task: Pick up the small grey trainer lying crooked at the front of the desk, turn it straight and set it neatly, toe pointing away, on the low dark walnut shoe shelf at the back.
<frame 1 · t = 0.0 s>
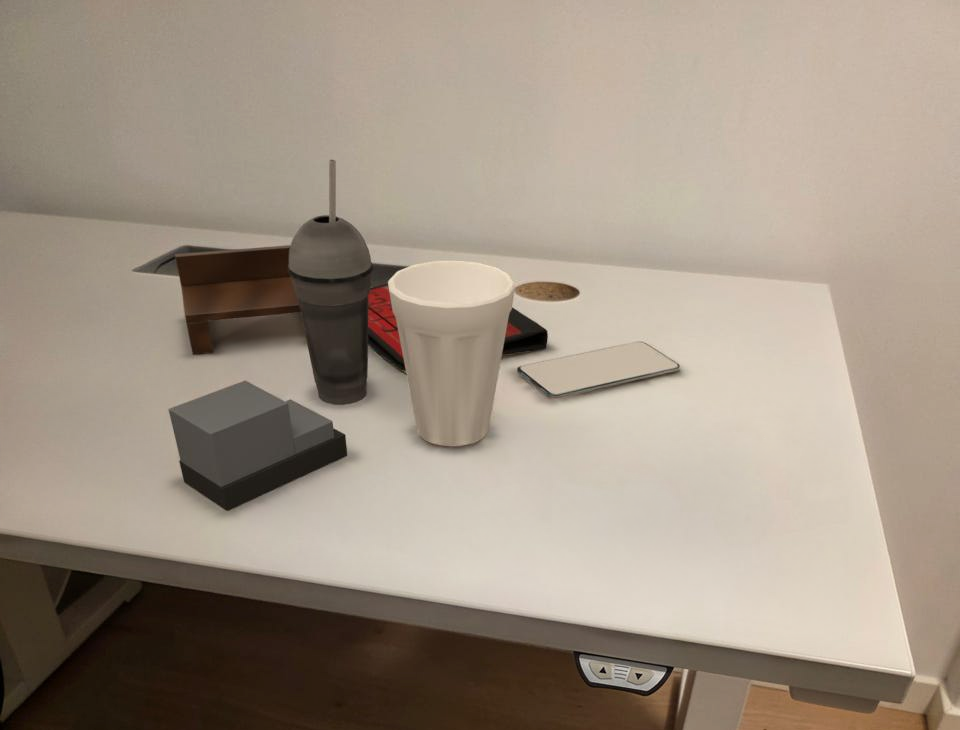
trainer: (247, 477, 73), on the table
smartphone: (598, 373, 89), on the table
binder: (432, 329, 97), on the table
beverage cup: (342, 395, 85), on the table
shelf: (258, 330, 95), on the table
cup: (452, 434, 79), on the table
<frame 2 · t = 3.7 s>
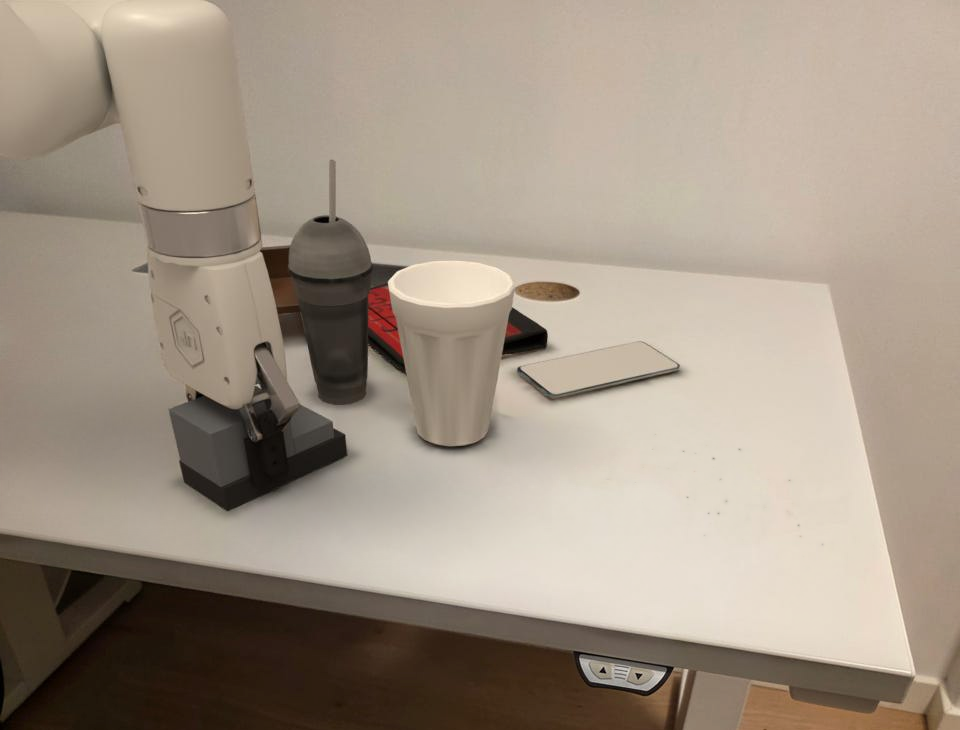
hand: (244, 461, 72), 1 cm above the table, tool pointing down, fingers closed on trainer, 6 cm apart
trainer: (247, 477, 73), on the table, touching gripper
everything else where it was.
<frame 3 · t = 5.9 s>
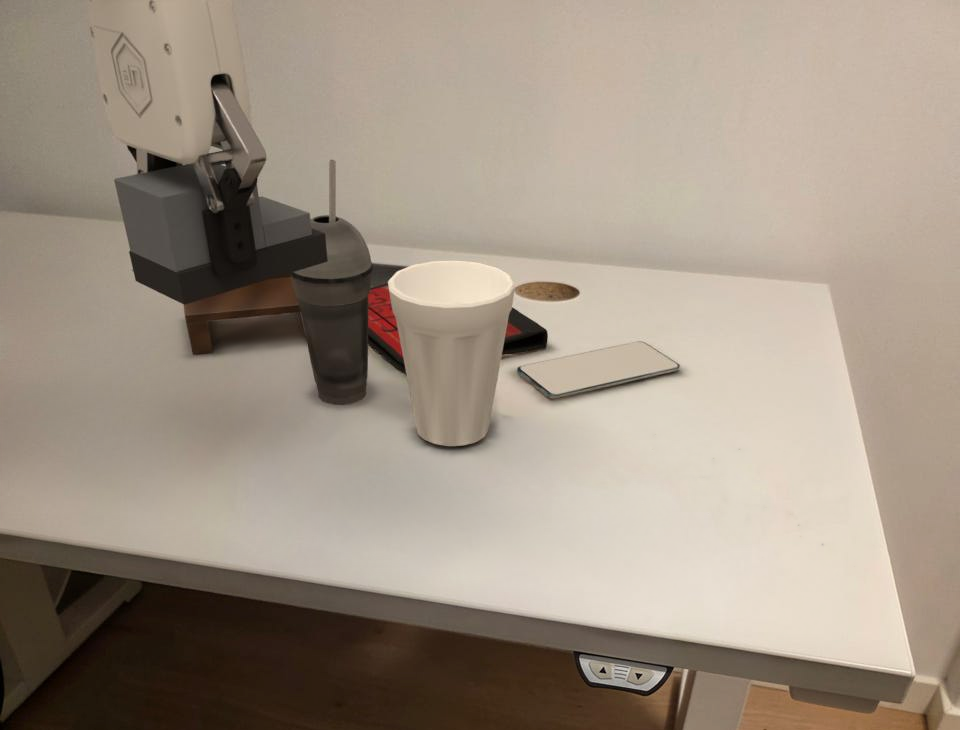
hand: (206, 255, 61), 17 cm above the table, tool pointing down, fingers closed on trainer, 6 cm apart
trainer: (210, 278, 62), point 16 cm above the table, touching gripper
everything else where it was.
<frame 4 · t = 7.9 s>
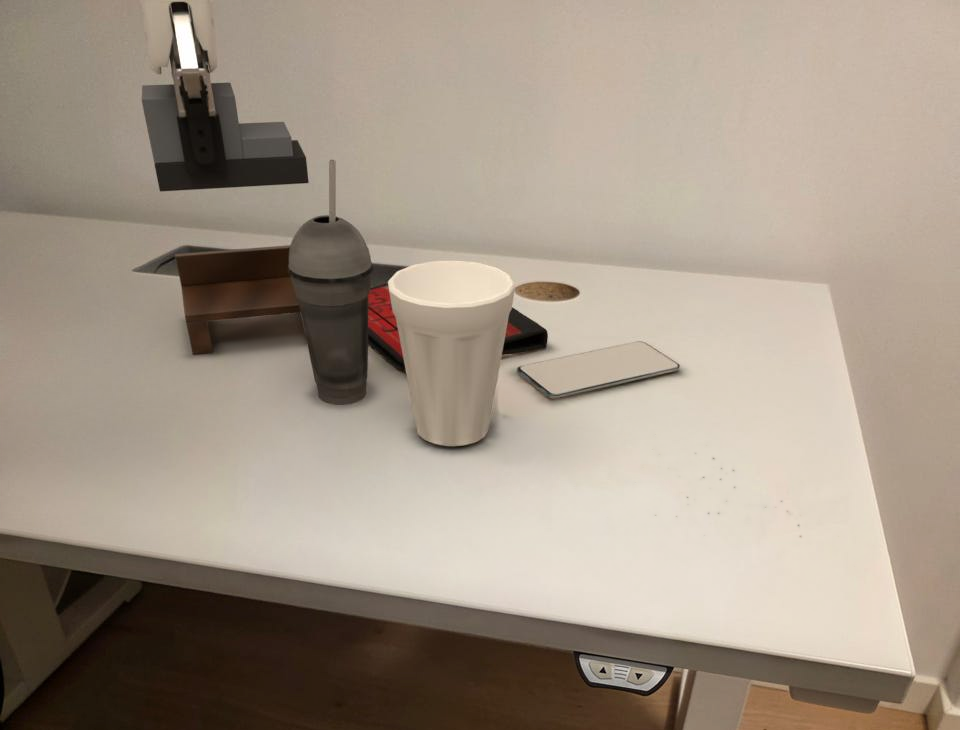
hand: (205, 159, 75), 19 cm above the table, tool pointing down, fingers closed on trainer, 6 cm apart
trainer: (209, 179, 76), point 17 cm above the table, touching gripper
everything else where it was.
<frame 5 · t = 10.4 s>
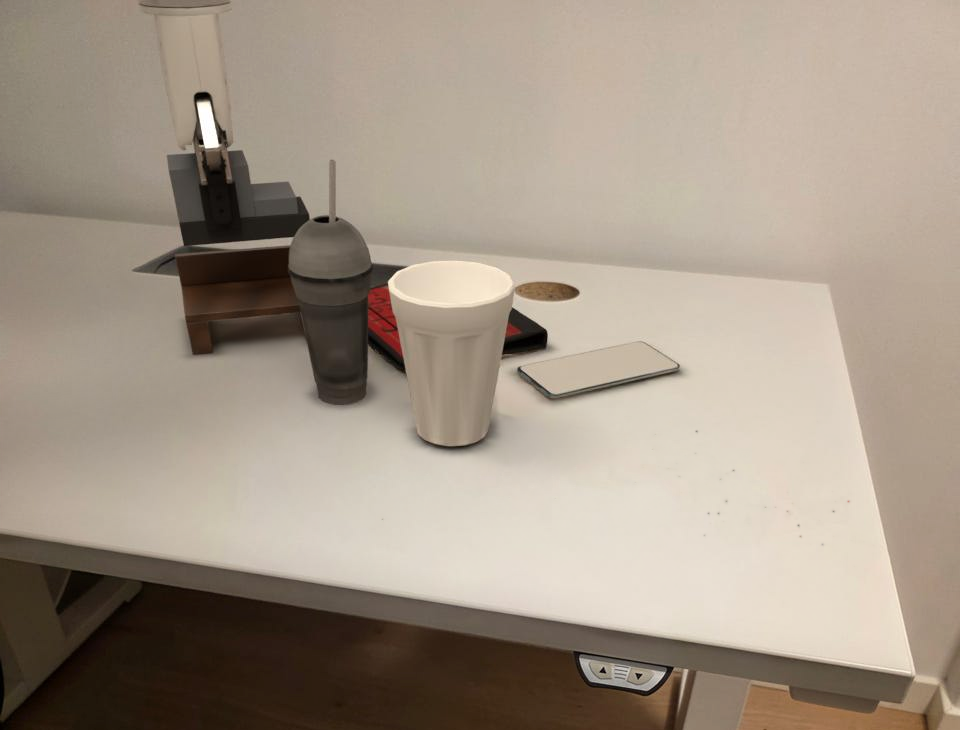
hand: (221, 216, 87), 12 cm above the table, tool pointing down, fingers closed on trainer, 6 cm apart
trainer: (224, 233, 88), point 10 cm above the table, touching gripper
everything else where it was.
when the fingers open (5 cm above the table, at t = 12.4 s): trainer stays where it is, resting on shelf.
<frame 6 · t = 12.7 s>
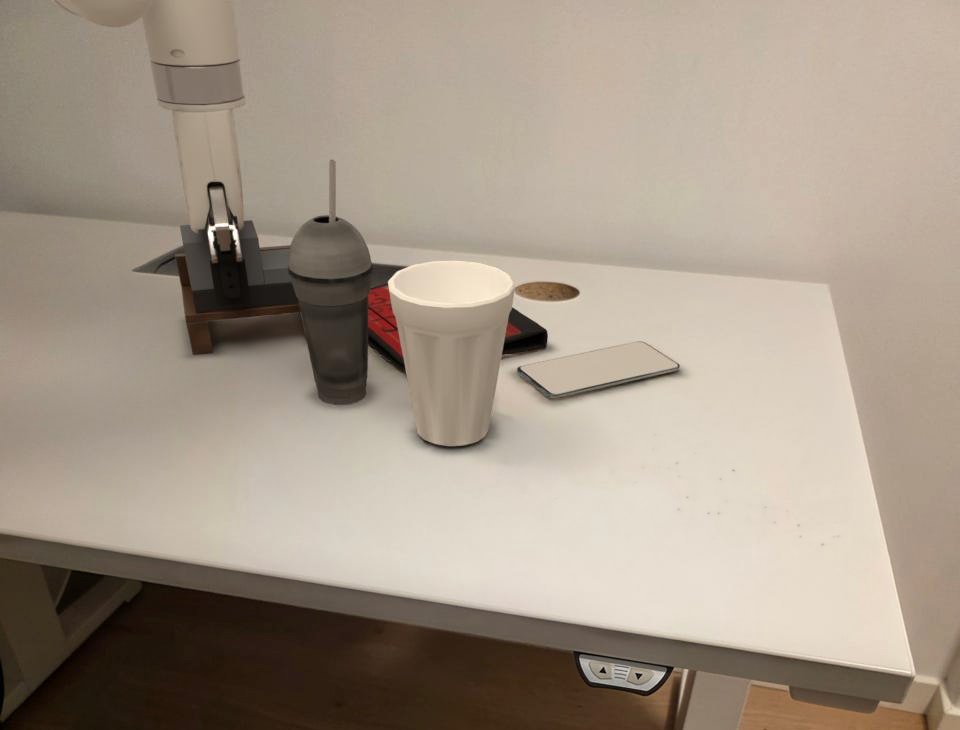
hand: (231, 286, 90), 5 cm above the table, tool pointing down, fingers open, 8 cm apart
trainer: (234, 297, 92), point 4 cm above the table, touching gripper, shelf
everything else where it was.
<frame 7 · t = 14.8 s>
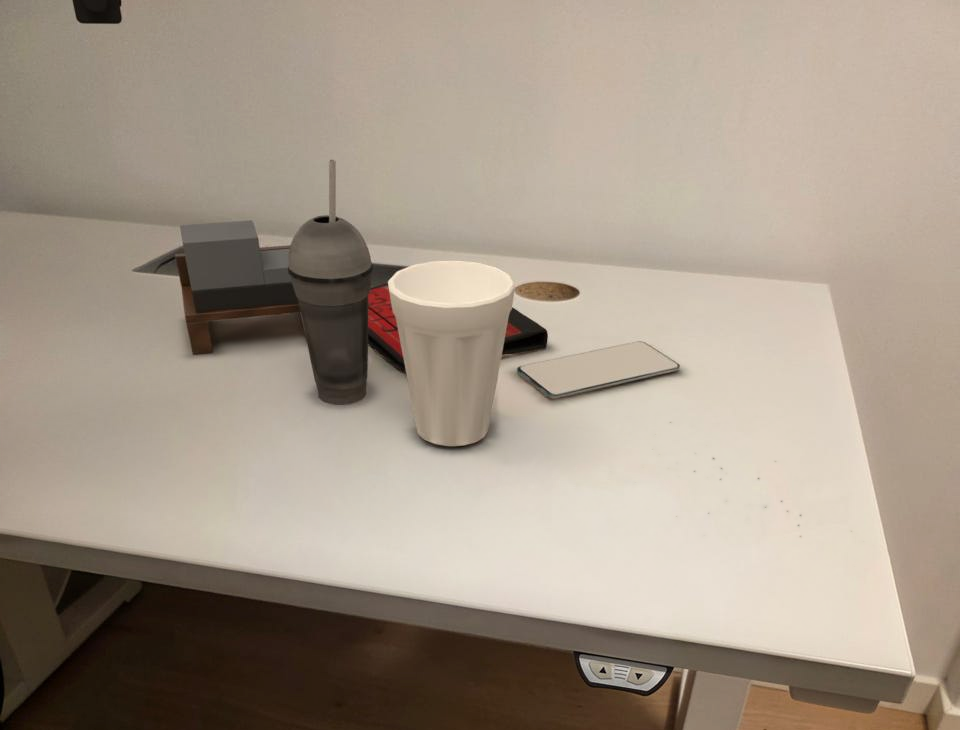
hand: (101, 14, 70), 28 cm above the table, tool pointing down, fingers open, 9 cm apart
trainer: (234, 297, 92), point 4 cm above the table, touching shelf
everything else where it was.
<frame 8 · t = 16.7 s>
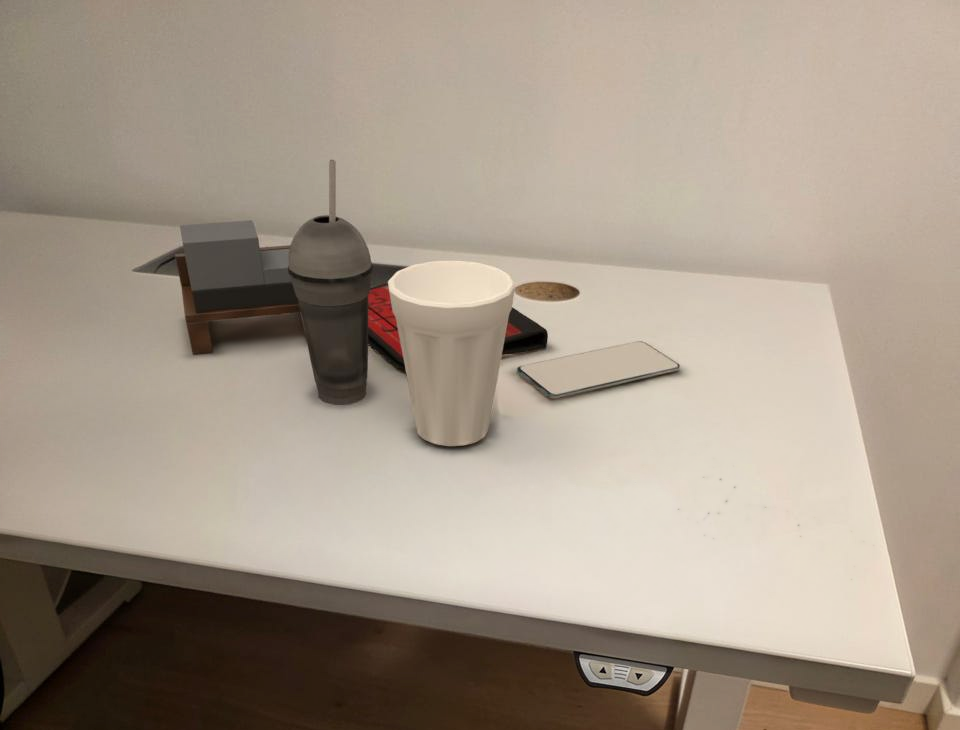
nothing on the table moved.
at the end: trainer 0.1 cm from the target spot on the shelf, point 4.0 cm above the shelf's base; trainer tilted 0° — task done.
